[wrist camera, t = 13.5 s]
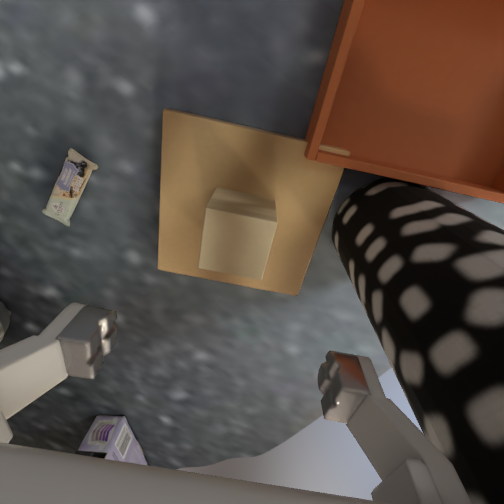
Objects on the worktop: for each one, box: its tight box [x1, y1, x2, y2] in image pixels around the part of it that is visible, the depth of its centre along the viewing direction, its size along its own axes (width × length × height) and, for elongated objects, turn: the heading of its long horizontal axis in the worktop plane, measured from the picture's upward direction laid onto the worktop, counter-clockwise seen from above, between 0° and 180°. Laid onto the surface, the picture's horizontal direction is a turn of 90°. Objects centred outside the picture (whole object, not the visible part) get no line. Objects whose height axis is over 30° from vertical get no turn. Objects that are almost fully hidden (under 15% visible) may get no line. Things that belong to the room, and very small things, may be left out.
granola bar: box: [42, 148, 98, 227], centre depth 22 cm, size 7×2×1 cm, turn 142°
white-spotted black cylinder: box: [332, 178, 504, 504], centre depth 14 cm, size 8×8×20 cm
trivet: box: [158, 108, 350, 296], centre depth 22 cm, size 13×13×2 cm
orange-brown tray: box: [304, 0, 504, 203], centre depth 16 cm, size 15×11×3 cm
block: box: [198, 187, 278, 280], centre depth 19 cm, size 4×4×4 cm
